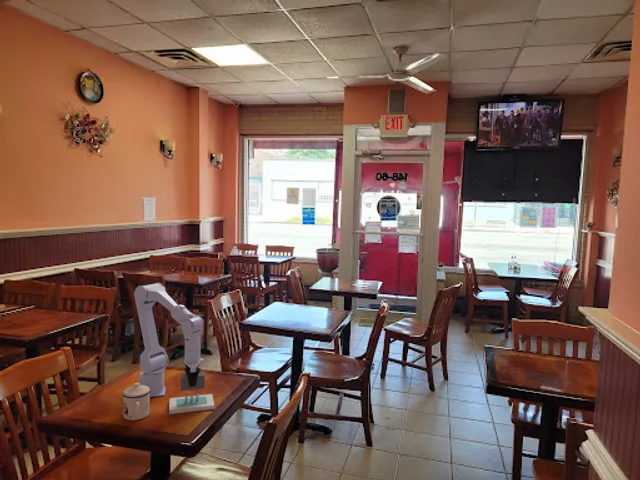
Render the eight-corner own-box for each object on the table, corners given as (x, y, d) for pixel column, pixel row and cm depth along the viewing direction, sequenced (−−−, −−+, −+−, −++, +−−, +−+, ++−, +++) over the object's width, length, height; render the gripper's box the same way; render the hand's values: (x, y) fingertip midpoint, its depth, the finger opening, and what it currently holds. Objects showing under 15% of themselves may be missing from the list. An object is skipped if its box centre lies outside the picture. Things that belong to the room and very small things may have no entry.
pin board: (169, 414, 155) (169, 401, 155) (169, 402, 164) (169, 390, 164) (214, 409, 160) (214, 397, 160) (212, 397, 170) (212, 386, 169)
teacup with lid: (122, 411, 156) (122, 380, 155) (149, 407, 160) (149, 377, 159) (122, 427, 145) (122, 394, 144) (151, 422, 149) (151, 390, 148)
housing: (180, 390, 159) (180, 377, 158) (180, 386, 163) (180, 373, 162) (204, 388, 162) (204, 375, 161) (204, 384, 166) (204, 371, 165)
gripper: (204, 354, 155) (204, 390, 156) (202, 342, 169) (202, 375, 170) (184, 355, 153) (184, 392, 154) (183, 343, 167) (183, 377, 168)
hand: (192, 383), depth 162 cm, fingers closed on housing, 4 cm apart
